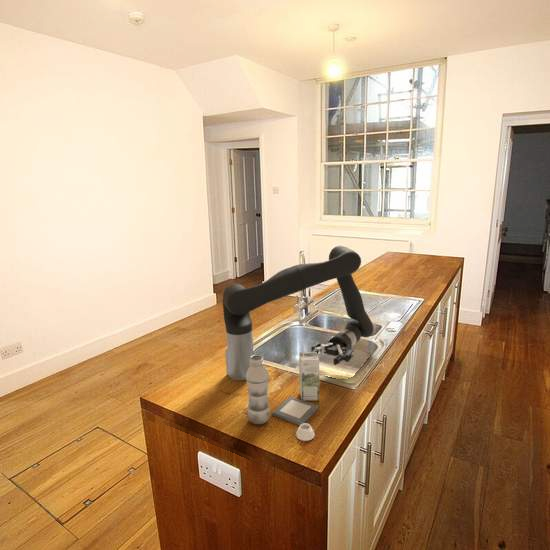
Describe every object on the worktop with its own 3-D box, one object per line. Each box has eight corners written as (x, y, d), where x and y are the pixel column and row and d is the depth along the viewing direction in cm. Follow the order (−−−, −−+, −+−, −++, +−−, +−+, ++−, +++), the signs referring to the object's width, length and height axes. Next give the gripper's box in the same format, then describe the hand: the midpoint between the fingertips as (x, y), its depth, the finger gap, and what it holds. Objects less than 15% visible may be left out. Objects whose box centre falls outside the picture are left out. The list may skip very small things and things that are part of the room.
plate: (272, 415, 114) (272, 411, 114) (290, 399, 122) (290, 396, 122) (301, 426, 108) (301, 422, 108) (318, 408, 116) (318, 405, 116)
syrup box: (316, 391, 126) (316, 350, 123) (319, 401, 120) (319, 359, 117) (299, 392, 126) (299, 351, 122) (301, 402, 120) (300, 359, 117)
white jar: (292, 437, 104) (307, 444, 101) (292, 427, 104) (307, 435, 100) (303, 427, 108) (318, 435, 105) (303, 418, 107) (318, 425, 104)
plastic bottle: (252, 412, 116) (249, 351, 111) (273, 415, 114) (271, 354, 109) (244, 425, 110) (240, 361, 105) (266, 429, 108) (264, 364, 103)
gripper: (325, 329, 145) (304, 344, 132) (361, 336, 137) (342, 353, 124) (325, 347, 147) (304, 364, 134) (360, 355, 139) (342, 374, 126)
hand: (322, 359), depth 129 cm, fingers open, 8 cm apart
